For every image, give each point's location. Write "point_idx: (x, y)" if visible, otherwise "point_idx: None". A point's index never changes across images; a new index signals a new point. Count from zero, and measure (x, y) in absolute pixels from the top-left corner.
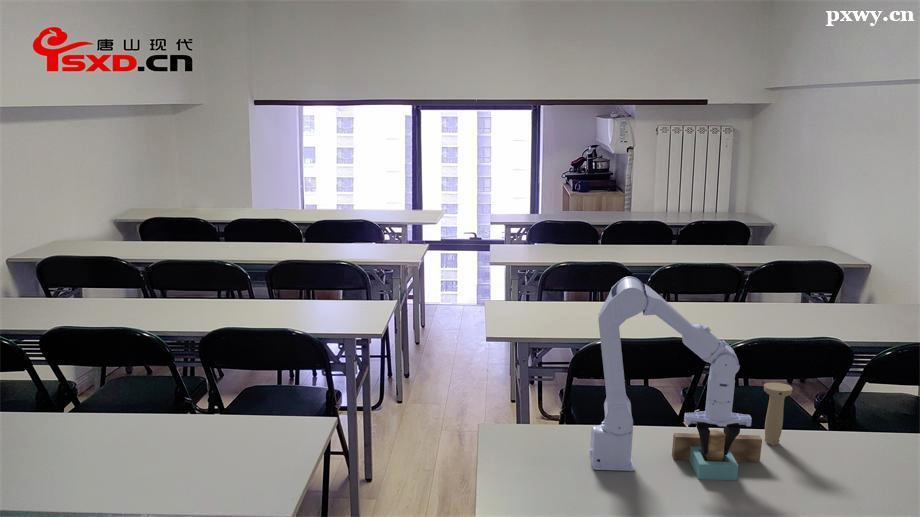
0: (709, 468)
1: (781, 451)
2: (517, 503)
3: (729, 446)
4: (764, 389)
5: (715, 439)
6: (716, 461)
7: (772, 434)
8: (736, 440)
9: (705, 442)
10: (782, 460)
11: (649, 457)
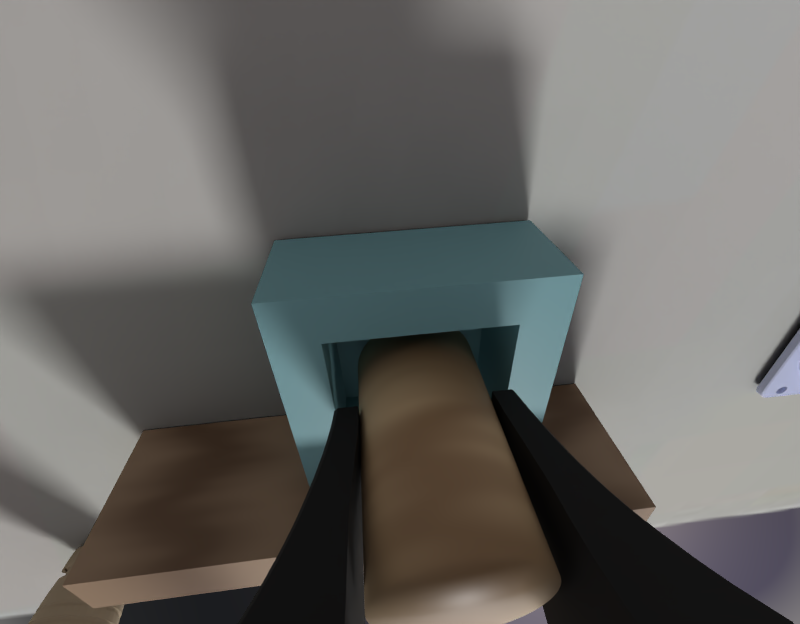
0: (488, 264)
1: (52, 515)
2: None
3: (322, 477)
4: None
5: (501, 534)
6: (419, 344)
7: (75, 601)
8: (252, 545)
9: (574, 481)
10: (26, 463)
11: (673, 385)
